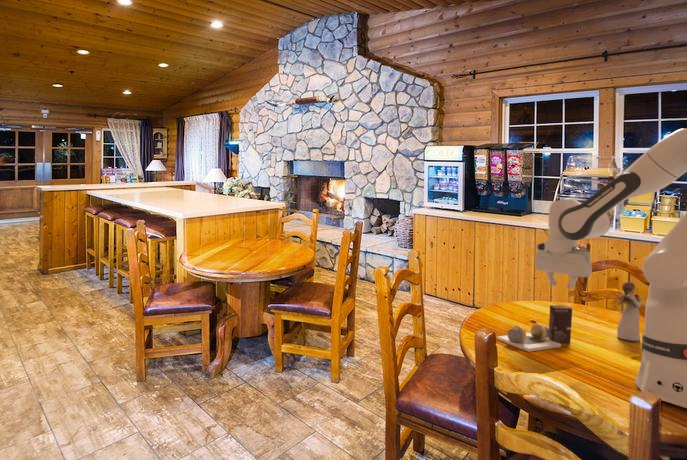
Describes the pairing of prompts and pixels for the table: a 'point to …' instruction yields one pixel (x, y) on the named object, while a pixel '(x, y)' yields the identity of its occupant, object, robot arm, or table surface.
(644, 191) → the robot arm
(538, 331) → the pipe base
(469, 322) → the table surface
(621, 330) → the figurine
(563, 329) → the box
